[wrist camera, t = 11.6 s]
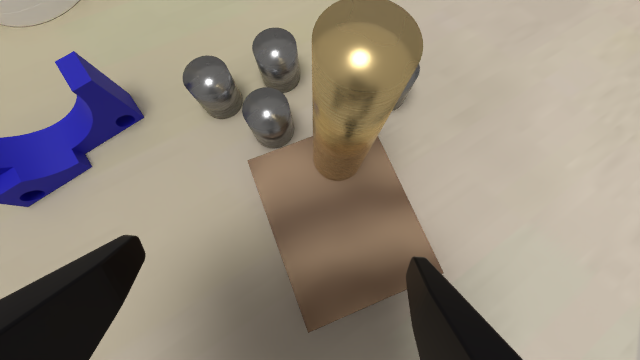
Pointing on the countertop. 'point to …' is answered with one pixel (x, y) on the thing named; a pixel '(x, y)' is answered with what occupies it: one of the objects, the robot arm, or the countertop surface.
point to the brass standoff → (358, 78)
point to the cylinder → (32, 11)
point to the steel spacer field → (264, 103)
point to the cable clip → (65, 136)
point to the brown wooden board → (339, 230)
